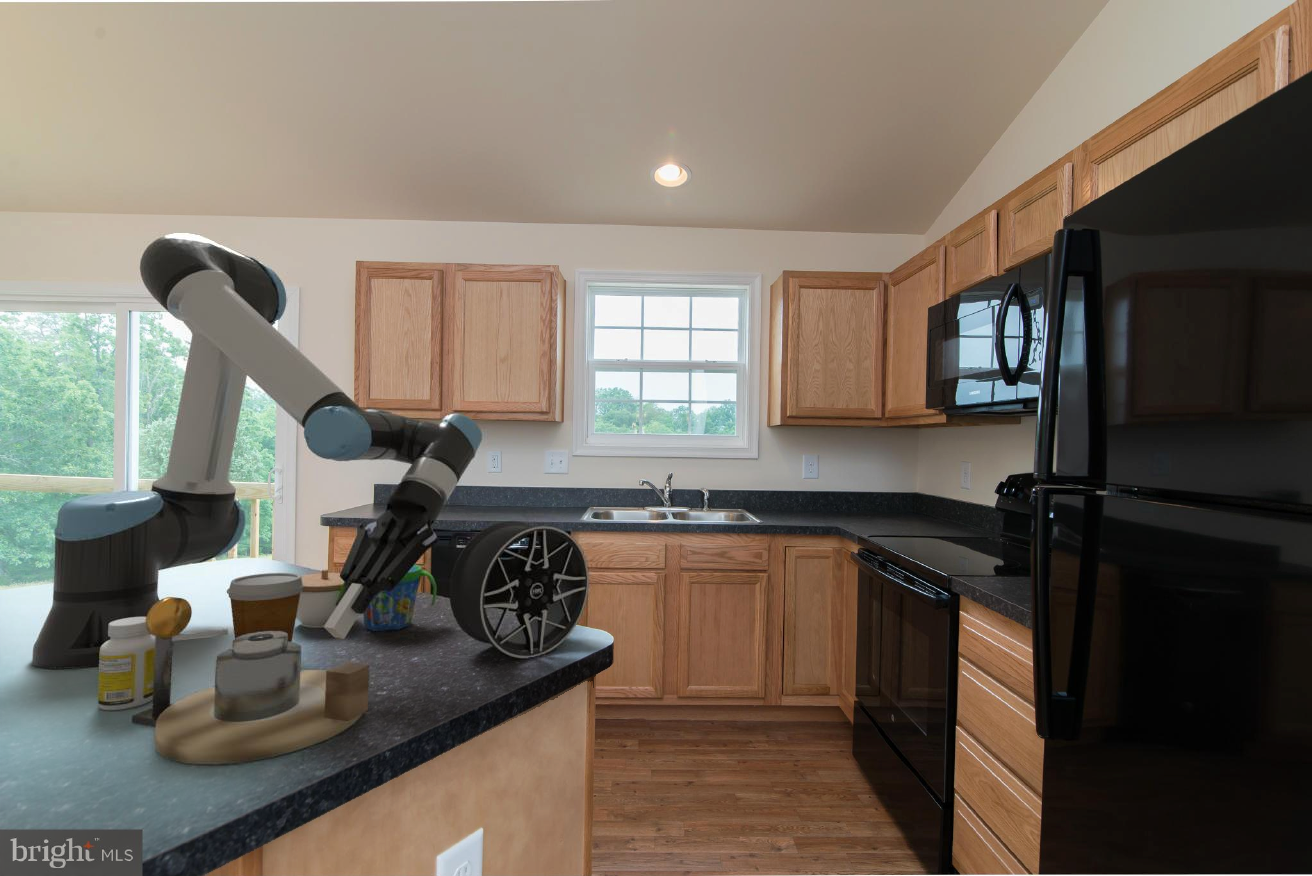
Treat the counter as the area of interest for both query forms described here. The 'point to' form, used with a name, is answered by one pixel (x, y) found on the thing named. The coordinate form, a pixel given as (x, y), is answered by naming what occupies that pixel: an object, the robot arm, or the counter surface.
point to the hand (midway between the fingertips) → (333, 632)
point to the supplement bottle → (126, 665)
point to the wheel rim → (521, 588)
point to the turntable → (265, 720)
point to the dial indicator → (167, 650)
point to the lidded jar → (318, 598)
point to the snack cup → (395, 602)
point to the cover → (257, 677)
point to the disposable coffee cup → (265, 603)
